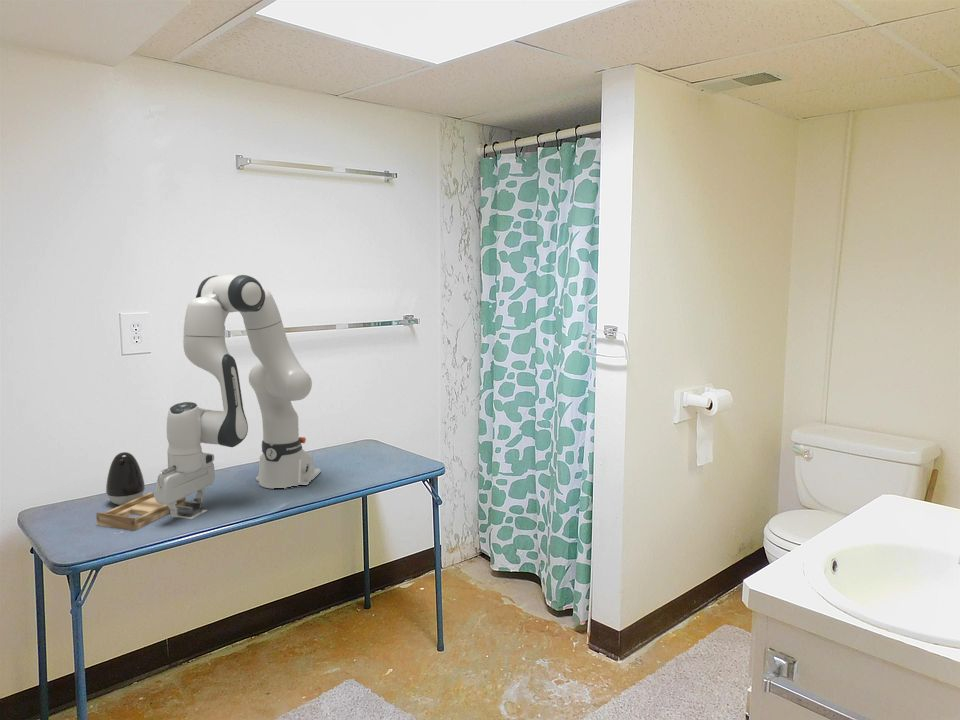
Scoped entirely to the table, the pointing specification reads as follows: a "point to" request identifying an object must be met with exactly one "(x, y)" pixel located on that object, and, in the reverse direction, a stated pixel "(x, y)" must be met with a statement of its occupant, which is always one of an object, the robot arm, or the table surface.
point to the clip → (190, 508)
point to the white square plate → (192, 516)
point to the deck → (138, 506)
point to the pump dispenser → (124, 479)
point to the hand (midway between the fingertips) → (186, 509)
